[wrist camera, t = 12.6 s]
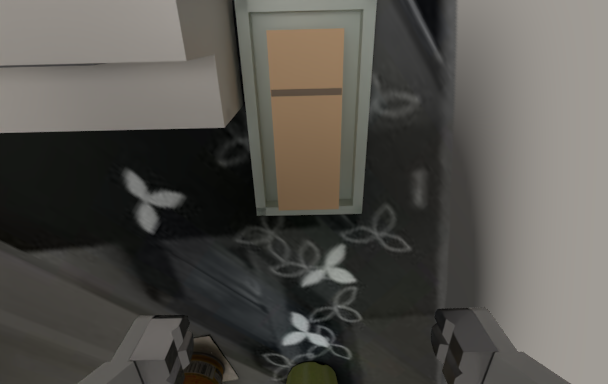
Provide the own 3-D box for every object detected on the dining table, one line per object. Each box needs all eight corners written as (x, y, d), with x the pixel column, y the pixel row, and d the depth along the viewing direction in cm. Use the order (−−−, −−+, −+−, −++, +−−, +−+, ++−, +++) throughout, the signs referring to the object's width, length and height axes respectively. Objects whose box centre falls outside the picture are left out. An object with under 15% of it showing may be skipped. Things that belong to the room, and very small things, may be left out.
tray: (358, 203, 28) (361, 213, 27) (259, 205, 28) (257, 215, 27) (371, -3, 21) (377, -6, 20) (239, 0, 21) (234, -3, 20)
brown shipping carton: (334, 186, 27) (338, 209, 23) (282, 187, 27) (278, 210, 23) (337, 29, 22) (344, 28, 18) (272, 30, 22) (266, 30, 18)
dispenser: (65, 109, 25) (-94, 159, 15) (8, -49, 20) (-276, -127, 10) (243, 105, 24) (203, 153, 15) (225, -55, 20) (150, -140, 10)
